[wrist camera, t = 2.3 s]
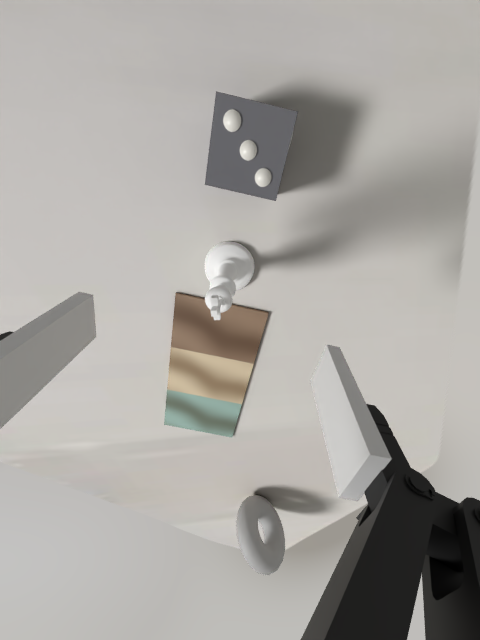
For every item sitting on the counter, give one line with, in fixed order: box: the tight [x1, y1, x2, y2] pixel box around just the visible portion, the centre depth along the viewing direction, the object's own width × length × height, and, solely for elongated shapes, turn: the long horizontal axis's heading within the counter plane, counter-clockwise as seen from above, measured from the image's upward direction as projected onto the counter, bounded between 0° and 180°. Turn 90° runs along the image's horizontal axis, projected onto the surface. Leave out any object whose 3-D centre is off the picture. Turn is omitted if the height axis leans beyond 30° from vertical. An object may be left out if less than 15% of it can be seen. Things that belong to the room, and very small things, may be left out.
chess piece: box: [205, 241, 255, 320], centre depth 21 cm, size 5×5×10 cm
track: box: [164, 292, 269, 437], centre depth 33 cm, size 21×10×1 cm, turn 168°
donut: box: [236, 495, 285, 575], centre depth 42 cm, size 10×3×10 cm, turn 43°
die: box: [205, 92, 298, 201], centre depth 19 cm, size 5×5×5 cm
